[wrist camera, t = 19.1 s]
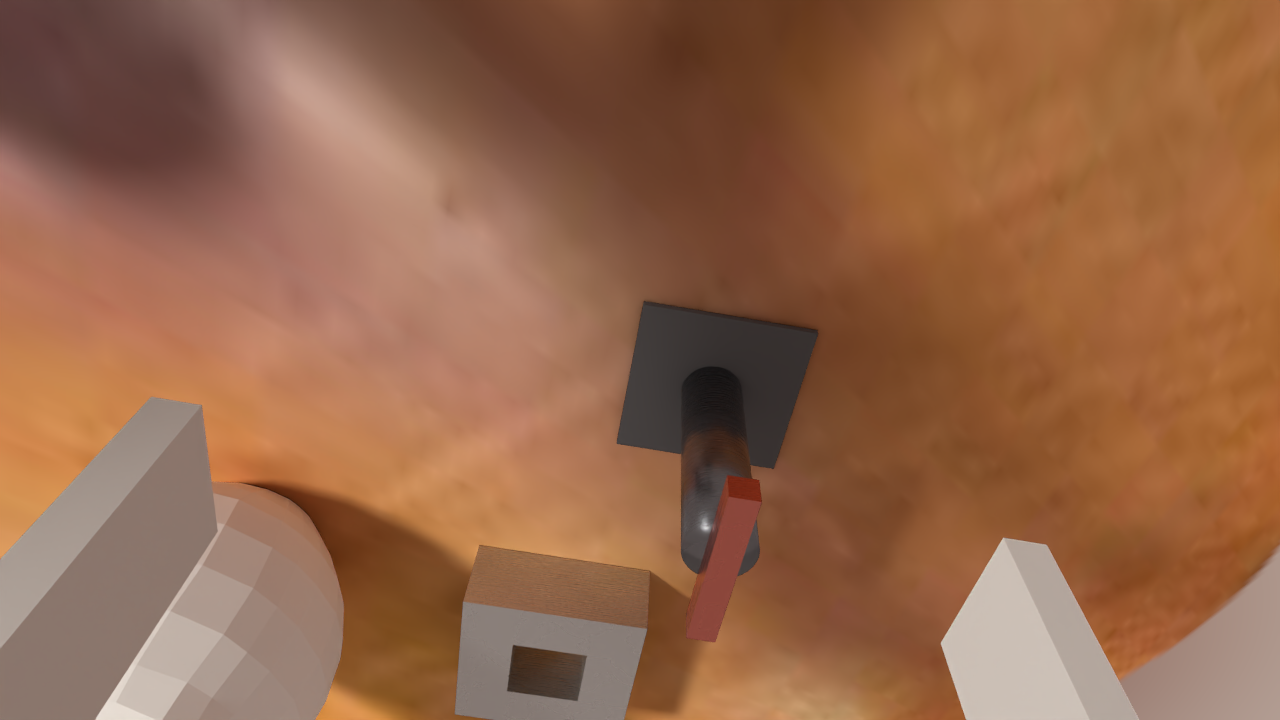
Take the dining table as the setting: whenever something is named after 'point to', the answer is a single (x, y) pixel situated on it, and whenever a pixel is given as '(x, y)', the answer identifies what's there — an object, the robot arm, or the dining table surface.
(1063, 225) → the dining table surface
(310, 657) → the white vase
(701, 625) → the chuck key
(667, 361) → the mat
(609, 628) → the block
